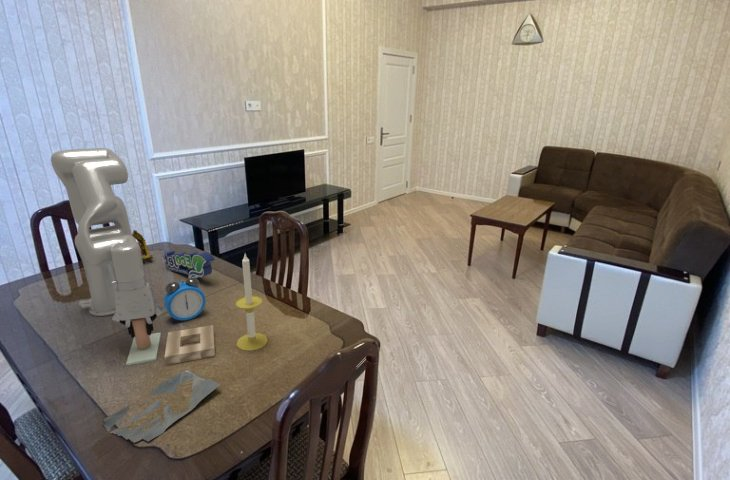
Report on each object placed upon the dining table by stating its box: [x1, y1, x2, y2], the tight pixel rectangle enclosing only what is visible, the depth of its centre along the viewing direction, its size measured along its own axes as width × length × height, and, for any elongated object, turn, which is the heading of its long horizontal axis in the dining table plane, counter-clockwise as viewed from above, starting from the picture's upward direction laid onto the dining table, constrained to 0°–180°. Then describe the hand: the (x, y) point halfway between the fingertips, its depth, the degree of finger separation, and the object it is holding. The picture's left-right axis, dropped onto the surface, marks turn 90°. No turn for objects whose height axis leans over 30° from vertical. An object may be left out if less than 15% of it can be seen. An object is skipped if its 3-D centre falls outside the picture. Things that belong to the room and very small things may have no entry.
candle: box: [235, 253, 269, 352], centre depth 126 cm, size 10×10×32 cm
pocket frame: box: [164, 324, 216, 366], centre depth 127 cm, size 14×14×3 cm
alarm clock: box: [163, 277, 207, 323], centre depth 142 cm, size 13×6×15 cm, turn 128°
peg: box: [131, 318, 151, 349], centre depth 124 cm, size 4×4×10 cm
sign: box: [163, 250, 215, 279], centre depth 174 cm, size 35×4×14 cm, turn 55°
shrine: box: [131, 229, 154, 261], centre depth 189 cm, size 12×8×15 cm
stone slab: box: [102, 369, 221, 443], centre depth 103 cm, size 24×16×2 cm, turn 148°
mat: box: [125, 332, 162, 367], centre depth 126 cm, size 8×15×1 cm, turn 21°
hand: (141, 333), depth 124 cm, fingers closed on peg, 4 cm apart
